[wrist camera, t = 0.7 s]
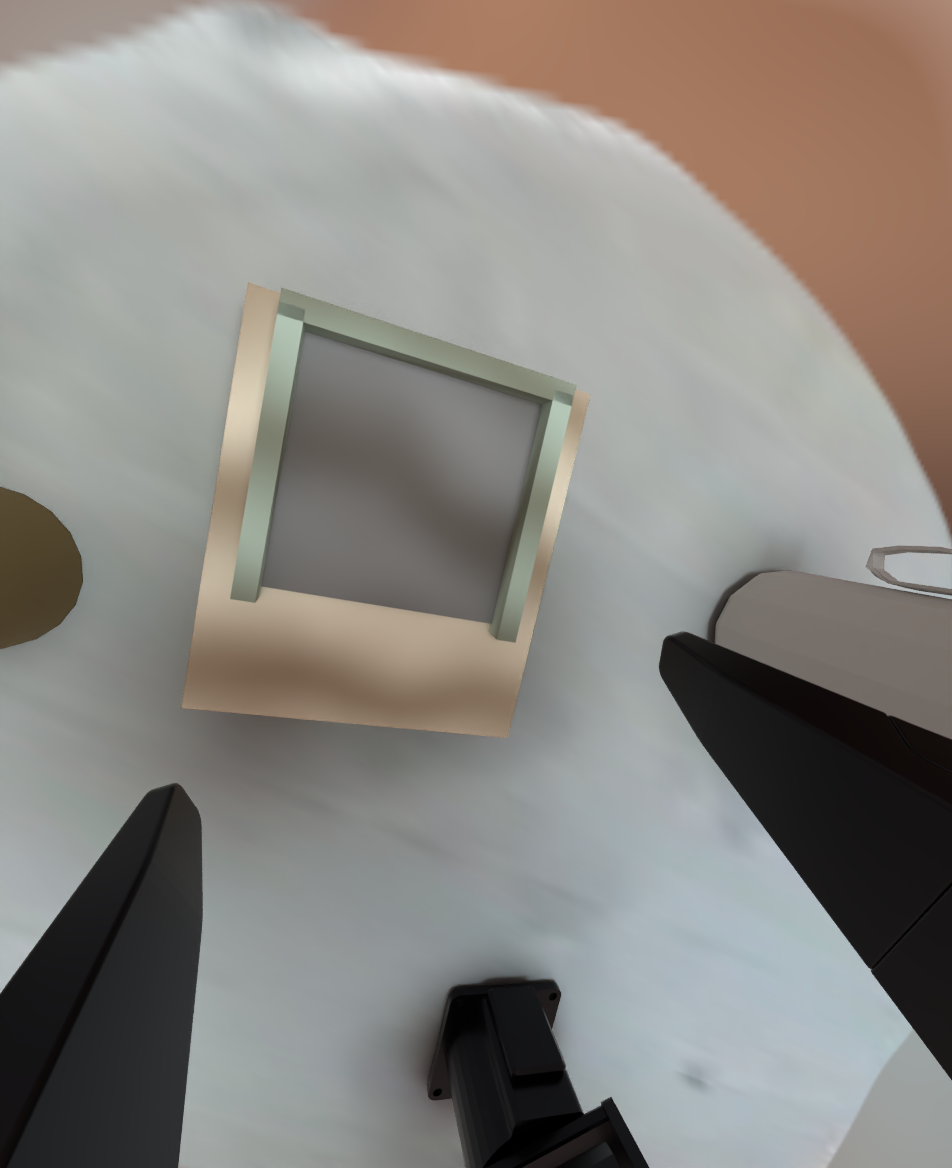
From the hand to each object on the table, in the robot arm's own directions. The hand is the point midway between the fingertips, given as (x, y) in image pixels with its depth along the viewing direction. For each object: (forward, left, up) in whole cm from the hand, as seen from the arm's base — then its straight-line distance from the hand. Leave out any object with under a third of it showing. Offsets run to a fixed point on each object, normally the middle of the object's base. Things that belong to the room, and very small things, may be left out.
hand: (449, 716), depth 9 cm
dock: (+2, 0, -14) cm, 14 cm away
